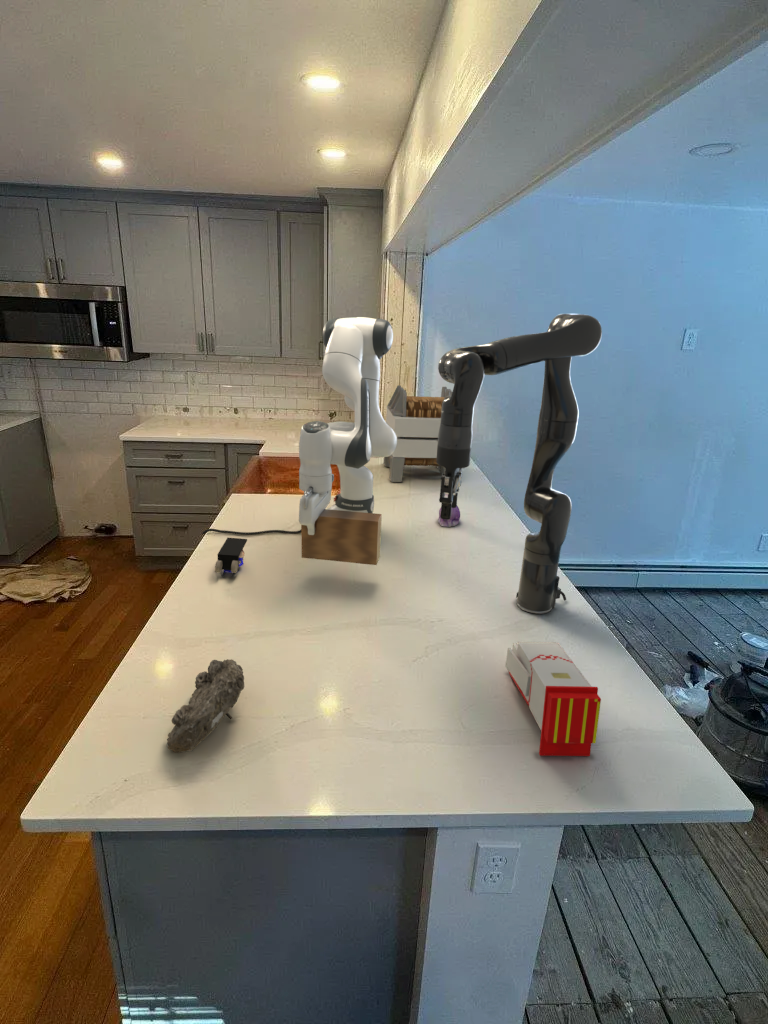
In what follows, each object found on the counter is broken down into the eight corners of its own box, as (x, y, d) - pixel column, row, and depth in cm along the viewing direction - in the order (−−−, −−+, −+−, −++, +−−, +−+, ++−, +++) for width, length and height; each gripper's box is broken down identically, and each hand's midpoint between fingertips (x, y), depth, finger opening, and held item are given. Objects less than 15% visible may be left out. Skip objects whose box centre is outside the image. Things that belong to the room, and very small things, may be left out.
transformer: (382, 463, 289) (386, 382, 275) (445, 464, 293) (451, 384, 279) (390, 482, 257) (394, 392, 243) (460, 483, 261) (468, 394, 247)
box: (301, 557, 160) (300, 514, 156) (307, 549, 166) (307, 507, 161) (376, 565, 157) (378, 521, 153) (380, 556, 163) (381, 514, 158)
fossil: (192, 660, 117) (244, 628, 112) (224, 691, 120) (276, 661, 115) (142, 746, 98) (202, 712, 93) (182, 779, 101) (242, 748, 96)
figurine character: (238, 584, 162) (249, 557, 175) (236, 562, 158) (247, 536, 172) (215, 584, 161) (227, 556, 175) (212, 561, 158) (225, 535, 171)
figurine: (445, 529, 206) (449, 489, 200) (430, 519, 214) (433, 481, 209) (467, 525, 210) (470, 487, 205) (451, 516, 218) (454, 479, 213)
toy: (554, 624, 127) (610, 694, 97) (548, 679, 130) (602, 763, 100) (500, 623, 126) (541, 693, 97) (496, 678, 129) (534, 763, 100)
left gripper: (316, 494, 145) (316, 544, 150) (335, 473, 164) (334, 517, 169) (292, 492, 146) (293, 542, 151) (314, 471, 165) (314, 515, 170)
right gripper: (466, 452, 118) (460, 525, 124) (475, 439, 131) (469, 505, 137) (431, 449, 120) (426, 520, 125) (443, 436, 133) (438, 501, 138)
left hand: (315, 529), depth 160 cm, fingers closed on box, 6 cm apart
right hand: (448, 512), depth 131 cm, fingers open, 8 cm apart
